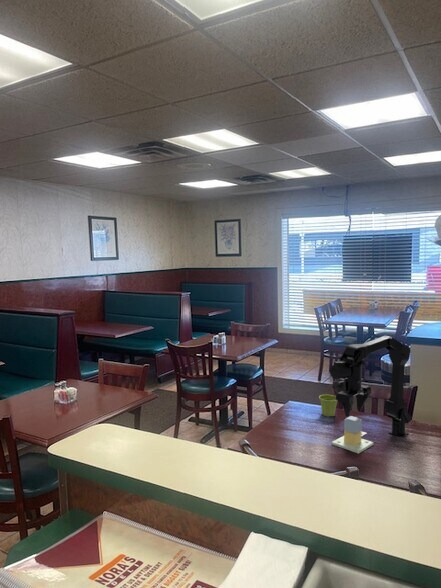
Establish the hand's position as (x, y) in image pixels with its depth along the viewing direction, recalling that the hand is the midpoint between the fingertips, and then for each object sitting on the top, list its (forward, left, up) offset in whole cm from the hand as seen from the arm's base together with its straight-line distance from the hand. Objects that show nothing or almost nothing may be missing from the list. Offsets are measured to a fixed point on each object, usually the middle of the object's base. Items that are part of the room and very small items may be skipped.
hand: (353, 413), depth 179 cm
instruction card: (-12, -4, -13) cm, 18 cm away
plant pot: (-23, -26, -13) cm, 37 cm away
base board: (0, 0, -13) cm, 13 cm away
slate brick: (0, 0, -7) cm, 7 cm away
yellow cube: (0, 0, -12) cm, 12 cm away
